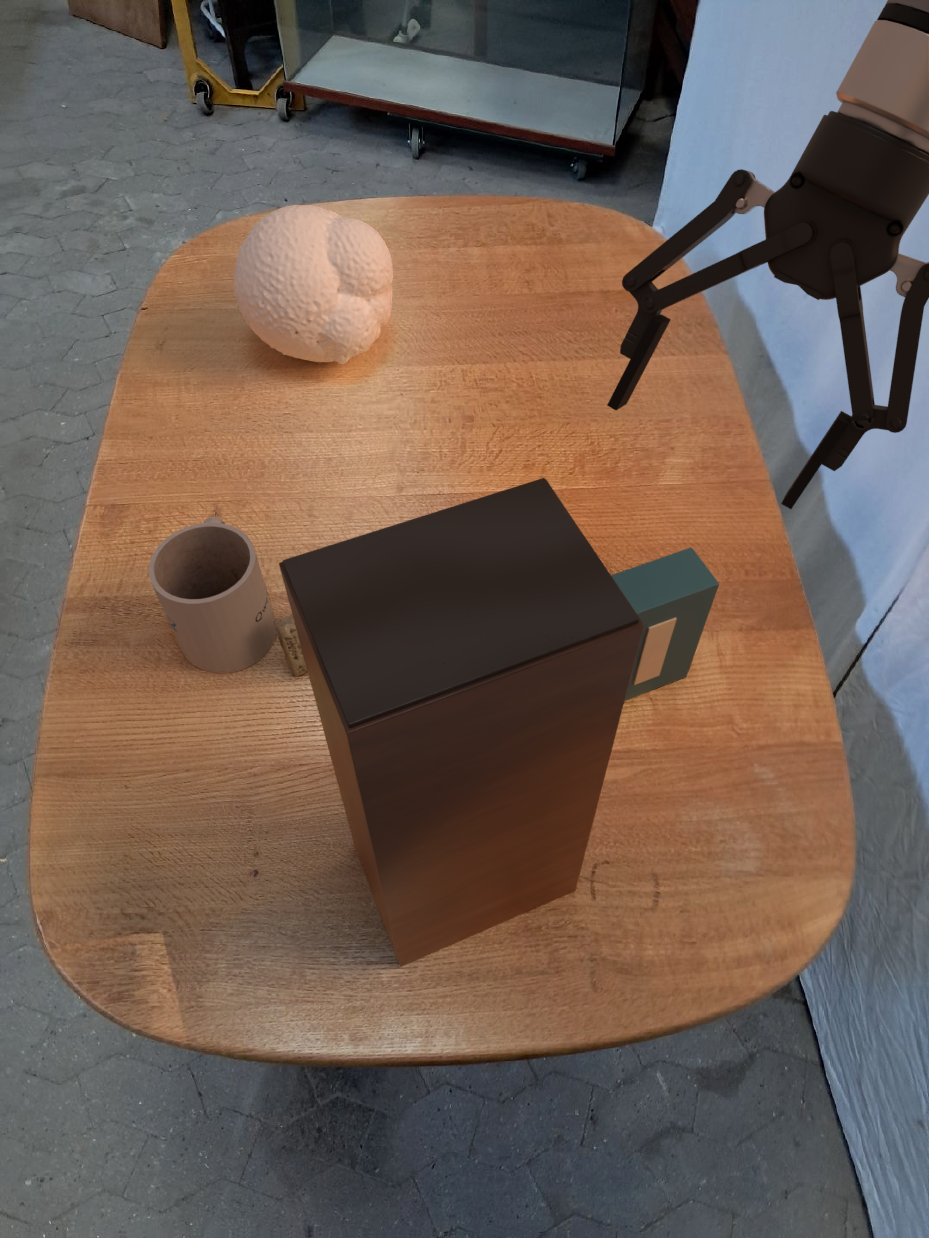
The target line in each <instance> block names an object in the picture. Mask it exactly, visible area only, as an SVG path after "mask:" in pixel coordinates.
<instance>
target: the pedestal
mask: <svg viewBox="0 0 929 1238" xmlns="http://www.w3.org/2000/svg"><path fill="white" fill-rule="evenodd" d="M278 566H279V569H280V573H281V577H282V581H283V584H284V588H285V593H286V596H287V599H288V604H289V607H290V611H291V614H292V615H293V619H294V622H295V626H296V630H297V633H298V637H299V641H300V645H301V648H302V652H303V656H304V660H305V663H306V667H307V674H308V678H309V682H310V685H311V686H310V687H311V689H312V692H313V697H314V701H315V704H316V708H317V712H318V715H319V720H320V723H321V727H322V730H323V734H324V737H325V741H326V745H327V748H328V749H327V750H328V753H329V756H330V760H331V764H332V768H333V771H334V775H335V778H336V782H337V787H338V790H339V793H340V797H341V801H342V805H343V809H344V812H345V815H346V819H347V823H348V827H349V831H350V835H351V838H352V842H353V847H354V848H355V850H356V854H357V856H358V860H359V861H360V864H361V867H362V869H363V872H364V875H365V877H366V881H367V883H368V886H369V888H370V891H371V894H372V897H373V899H374V902H375V904H376V907H377V910H378V913H379V915H380V918H381V920H382V924H383V926H384V929H385V931H386V935H387V937H388V940H389V942H390V945H391V947H392V951H393V953H394V956H395V959H396V961H397V964H398V967H403V966H405V965H407V964H410V963H413V962H416V961H417V960H419V959H421V958H424V957H426V956H428V955H432V954H433V953H435V952H437V951H440V950H442V949H445V948H447V947H449V946H451V945H454V944H456V943H458V942H461V941H463V940H465V939H468V938H470V937H472V936H475V935H477V934H479V933H481V932H483V931H486V930H488V929H491V928H493V927H495V926H497V925H500V924H502V923H504V922H507V921H509V920H511V919H513V918H516V917H518V916H520V915H523V914H525V913H528V912H531V911H532V910H534V909H537V908H539V907H541V906H543V905H546V904H548V903H552V902H553V901H554V900H557V899H560V898H562V897H564V896H566V895H568V894H571V893H574V892H576V889H577V886H578V882H579V879H580V878H579V877H580V874H581V870H582V867H583V862H584V859H585V854H586V852H587V847H588V844H589V840H590V837H591V832H592V828H593V824H594V820H595V816H596V813H597V809H598V805H599V800H600V797H601V794H602V791H603V790H602V789H603V786H604V782H605V777H606V774H607V770H608V767H609V762H610V758H611V754H612V751H613V747H614V743H615V739H616V735H617V732H618V728H619V724H620V720H621V716H622V712H623V708H624V704H625V702H626V701H625V697H626V693H627V689H628V685H629V681H630V678H631V674H632V670H633V666H634V662H635V658H636V654H637V651H638V647H639V643H640V639H641V635H642V631H643V627H644V624H643V622H642V621H641V619H640V618H639V616H638V615H637V613H636V612H635V610H634V609H633V607H632V606H631V604H630V603H629V601H628V600H627V598H626V597H625V595H624V594H623V592H622V591H621V589H620V588H619V587H618V585H617V584H616V582H615V581H614V579H613V578H612V576H611V575H612V574H611V573H610V572H609V570H608V568H607V567H606V566H605V565H604V563H603V561H602V560H601V558H600V556H599V555H598V554H597V552H596V551H595V549H594V548H593V546H592V545H591V544H590V542H589V541H588V539H587V537H586V536H585V535H584V533H583V532H582V530H581V529H580V527H579V526H578V524H577V523H576V521H575V520H574V518H573V517H572V516H571V513H569V511H568V509H567V507H566V506H565V505H564V503H563V502H562V501H561V499H560V497H559V496H558V494H557V493H556V491H555V490H554V489H553V487H552V485H551V484H550V483H549V481H548V480H547V478H545V477H542V478H539V479H535V480H533V481H529V482H525V483H522V484H519V485H517V486H513V487H510V488H506V489H504V490H501V491H498V492H495V493H490V494H488V495H485V496H481V497H477V498H475V499H472V500H469V501H466V502H462V503H460V504H456V505H453V506H450V507H447V508H443V509H440V510H437V511H434V512H430V513H428V514H424V515H422V516H418V517H416V518H411V519H409V520H406V521H403V522H399V523H396V524H392V525H389V526H387V527H384V528H381V529H377V530H374V531H371V532H368V533H364V534H361V535H358V536H354V537H351V538H348V539H345V540H342V541H340V542H339V541H338V542H336V543H333V544H329V545H327V546H323V547H320V548H317V549H314V550H310V551H307V552H304V553H301V554H298V555H295V556H291V557H288V558H286V559H285V558H284V559H283V560H282V561H280V562H278Z"/></svg>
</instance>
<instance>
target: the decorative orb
mask: <svg viewBox="0 0 929 1238" xmlns="http://www.w3.org/2000/svg"><path fill="white" fill-rule="evenodd" d="M233 273H234V274H233V279H232V282H233V283H232V284H233V292H234V296H235V301H236V303H237V308H238V309H239V311H240V314H241V317H242V319H243V321H244V322H245V323H246V324H247V326H248V327H249V328H250V329H251V330H252V332H253V333H254V334H255V335H257V337H258V338H259V339H260V341H262V342H264V343H265V344H266V345H268V346H269V347H270V349H274V350H275V351H277V352H278V353H281V354H282V356H285V355H286V356H288V357H293V358H295V359H300V360H304V361H309V362H314V363H332V362H336V363H337V364H339V365H344V364H347V362H348V361H349V360H350V359H351V358H353V357H358V355H361V354H364V353H365V352H367V351H368V350H369V349H370V348H371V347H372V345H373V343H374V342H375V341H377V339H378V338H379V336H380V334H381V328H382V327H384V326H386V324H387V323H388V322H389V320H390V318H391V315H392V303H393V294H394V291H393V288H392V282H393V279H394V278H393V277H394V267H393V259H392V255H391V251H390V249H389V248H388V247H387V243H386V242H385V241H384V239H383V238H382V235H381V234H380V233H379V232H378V231H377V230H376V229H374V227H372V226H371V225H369V224H368V223H366V222H364V221H362V220H360V219H357V218H350V217H345V216H340V215H339V214H337V213H336V212H334V211H331V210H330V209H326V208H324V207H321V206H317V205H310V204H292V205H286V206H282V207H280V208H277V209H275V210H272V211H271V212H270V213H267V214H266V215H264V216H263V217H262V218H261V219H259V220H258V222H257V223H255V224H253V227H252V229H250V230H249V232H248V233H247V236H246V237H245V239H244V240H243V243H242V244H240V248H239V250H238V253H237V256H236V260H235V267H234V270H233Z"/></svg>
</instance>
